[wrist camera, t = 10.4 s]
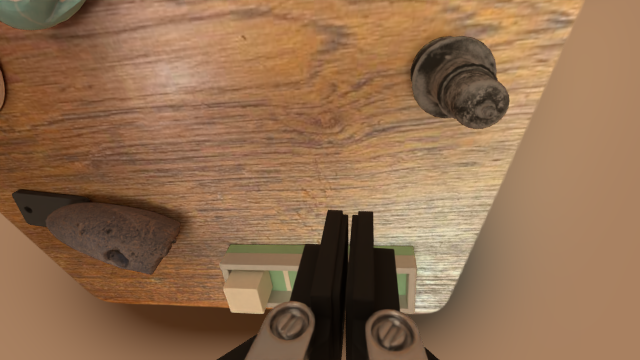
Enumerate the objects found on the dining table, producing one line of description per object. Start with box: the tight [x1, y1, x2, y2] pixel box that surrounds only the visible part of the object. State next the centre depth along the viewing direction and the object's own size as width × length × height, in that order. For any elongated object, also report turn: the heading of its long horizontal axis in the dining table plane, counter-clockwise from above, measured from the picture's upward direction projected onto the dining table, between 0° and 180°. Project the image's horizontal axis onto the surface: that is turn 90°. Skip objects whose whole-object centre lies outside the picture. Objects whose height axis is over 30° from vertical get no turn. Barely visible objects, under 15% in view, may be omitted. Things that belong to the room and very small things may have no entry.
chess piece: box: [411, 36, 509, 129], centre depth 21 cm, size 6×6×12 cm
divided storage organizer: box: [219, 245, 417, 314], centre depth 38 cm, size 22×7×4 cm, turn 96°
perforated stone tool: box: [45, 203, 180, 274], centre depth 36 cm, size 15×5×7 cm, turn 76°
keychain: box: [12, 190, 91, 227], centre depth 40 cm, size 5×1×10 cm
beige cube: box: [223, 270, 273, 314], centre depth 37 cm, size 4×4×4 cm
